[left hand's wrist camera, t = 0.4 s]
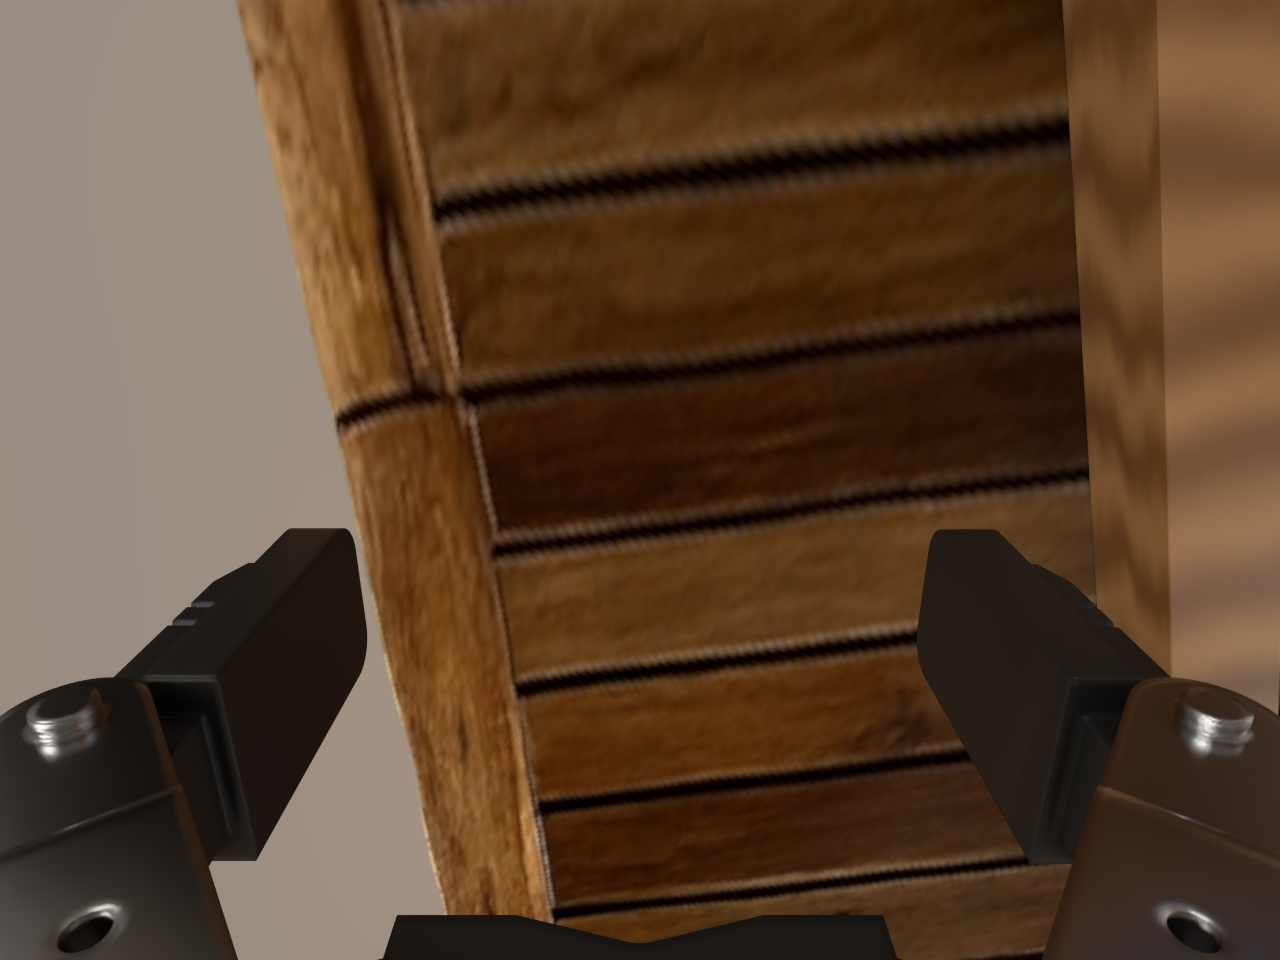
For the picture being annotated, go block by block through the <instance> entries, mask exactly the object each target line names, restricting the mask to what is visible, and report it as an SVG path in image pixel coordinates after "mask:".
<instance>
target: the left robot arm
mask: <svg viewBox="0 0 1280 960" xmlns="http://www.w3.org/2000/svg"><path fill="white" fill-rule="evenodd" d="M1113 624H1114V623H1113V622H1112V621H1111V620H1110V619H1109V618H1108V617H1107V616H1106V615H1105V614H1104V613H1103V612H1102V611H1101V610H1100V609H1095V608H1094V604H1093V603H1092V602H1091V601H1090V600H1089V599H1088V598H1087V597H1086V596H1085V595H1084V594H1083V593H1082V592H1081V591H1080V590H1079V589H1078V588H1077V587H1075V586H1074V585H1073V584H1072V583H1071V582H1069V581H1067V580H1065V579H1063V578H1062V577H1060V576H1058V575H1056V574H1054V573H1052V572H1050V571H1048V570H1046V569H1045V568H1043V567H1041V566H1039V565H1037V564H1030V563H1029V562H1028V561H1027V560H1026V559H1025V558H1024V557H1023V556H1022V555H1021V554H1020V553H1019V552H1018V551H1017V550H1016V549H1015V548H1014V547H1013V546H1012V545H1011V544H1010V543H1009V542H1008V541H1007V540H1006V539H1005V538H1004V537H1003V536H1002V535H1001V534H1000V533H999V532H998V531H996V530H938V531H936V532H935V533H934V535H933V537H932V539H931V543H930V547H929V552H928V559H927V566H926V573H925V580H924V587H923V594H922V601H921V608H920V615H919V622H918V630H917V649H918V657H919V662H920V666H921V669H922V672H923V674H924V676H925V678H926V680H927V682H928V684H929V685H930V687H931V689H932V691H933V692H934V694H935V696H936V698H937V700H938V701H939V703H940V705H941V707H942V708H943V710H944V712H945V714H946V715H947V717H948V719H949V721H950V723H951V724H952V726H953V728H954V730H955V731H956V733H957V735H958V737H959V738H960V740H961V742H962V744H963V746H964V747H965V749H966V751H967V753H968V754H969V756H970V758H971V760H972V761H973V763H974V765H975V767H976V768H977V770H978V772H979V774H980V776H981V777H982V779H983V781H984V783H985V784H986V786H987V788H988V790H989V791H990V793H991V795H992V797H993V799H994V800H995V802H996V804H997V806H998V807H999V809H1000V811H1001V813H1002V814H1003V816H1004V818H1005V820H1006V822H1007V823H1008V825H1009V827H1010V829H1011V830H1012V832H1013V834H1014V836H1015V837H1016V839H1017V841H1018V843H1019V845H1020V846H1021V848H1022V850H1023V852H1024V853H1025V855H1026V857H1027V859H1028V860H1029V862H1030V864H1072V867H1071V870H1070V873H1069V876H1068V879H1067V882H1066V886H1065V889H1064V892H1063V895H1062V898H1061V901H1060V905H1059V908H1058V911H1057V914H1056V917H1055V920H1054V924H1053V927H1052V930H1051V933H1050V936H1049V939H1048V942H1047V946H1046V949H1045V952H1044V955H1043V958H1042V960H1280V716H1279V715H1277V714H1276V713H1274V712H1273V711H1272V710H1270V709H1268V708H1267V707H1265V706H1263V705H1262V704H1260V703H1258V702H1256V701H1254V700H1252V699H1250V698H1248V697H1246V696H1244V695H1241V694H1239V693H1237V692H1234V691H1232V690H1229V689H1226V688H1223V687H1220V686H1217V685H1213V684H1209V683H1206V682H1202V681H1196V680H1191V679H1184V678H1171V677H1170V676H1169V675H1168V674H1167V673H1166V672H1165V671H1164V670H1163V669H1162V668H1161V667H1160V666H1159V665H1158V664H1157V663H1156V662H1155V661H1153V660H1152V659H1151V658H1150V657H1149V656H1148V655H1147V654H1146V653H1145V652H1144V651H1143V650H1142V649H1141V648H1140V647H1139V646H1138V645H1137V644H1136V643H1134V642H1133V641H1132V640H1131V639H1130V638H1129V637H1128V636H1127V635H1126V634H1125V633H1124V632H1123V631H1122V630H1121V629H1120V628H1119V627H1114V625H1113ZM366 650H367V627H366V620H365V612H364V605H363V598H362V591H361V584H360V577H359V570H358V563H357V556H356V549H355V544H354V540H353V537H352V535H351V533H350V532H349V531H348V530H347V529H345V528H291V529H288V530H287V531H286V532H285V533H283V535H282V536H281V537H280V538H279V539H278V540H277V541H276V542H275V543H274V544H273V545H272V546H271V547H270V548H269V549H268V550H267V551H266V552H265V553H264V554H263V555H262V556H261V557H260V558H259V559H258V560H257V561H256V562H255V563H248V564H246V565H244V566H242V567H240V568H238V569H236V570H234V571H232V572H231V573H229V574H227V575H225V576H223V577H221V578H219V579H217V580H216V581H214V582H213V583H212V584H211V585H210V586H208V587H207V588H206V589H205V590H204V591H203V592H202V593H201V594H200V595H199V596H198V597H197V598H196V599H195V600H194V601H193V602H192V603H191V607H187V608H185V609H184V610H183V611H182V612H181V613H180V614H179V615H178V616H177V617H176V618H175V619H174V620H173V623H172V626H167V627H166V628H165V629H164V630H163V631H161V632H160V633H159V634H158V635H157V636H156V637H155V638H154V639H153V640H152V641H151V642H150V643H149V644H148V645H147V646H146V647H145V648H144V649H143V650H142V651H141V652H140V653H138V654H137V655H136V656H135V657H134V658H133V659H132V660H131V661H130V662H129V663H128V664H127V665H126V666H125V667H124V668H123V669H122V670H121V671H120V672H119V673H118V674H117V675H116V676H114V677H110V678H96V679H89V680H84V681H78V682H74V683H71V684H67V685H63V686H60V687H57V688H54V689H51V690H48V691H46V692H43V693H41V694H39V695H36V696H34V697H32V698H30V699H28V700H26V701H24V702H22V703H20V704H18V705H17V706H15V707H13V708H12V709H10V710H8V711H7V712H6V713H4V714H3V715H1V716H0V960H238V958H237V955H236V952H235V949H234V946H233V942H232V939H231V936H230V933H229V930H228V927H227V924H226V920H225V917H224V914H223V911H222V908H221V905H220V902H219V898H218V895H217V892H216V889H215V886H214V882H213V879H212V876H211V873H210V870H209V867H208V866H209V865H210V863H211V862H212V861H256V860H257V858H258V856H259V855H260V853H261V851H262V849H263V847H264V846H265V844H266V842H267V840H268V838H269V837H270V835H271V833H272V831H273V829H274V828H275V826H276V824H277V822H278V821H279V819H280V817H281V815H282V813H283V812H284V810H285V808H286V806H287V804H288V803H289V801H290V799H291V797H292V795H293V794H294V792H295V790H296V788H297V787H298V785H299V783H300V781H301V779H302V778H303V776H304V774H305V772H306V770H307V769H308V767H309V765H310V763H311V761H312V760H313V758H314V756H315V754H316V753H317V751H318V749H319V747H320V745H321V744H322V742H323V740H324V738H325V736H326V735H327V733H328V731H329V729H330V727H331V726H332V724H333V722H334V720H335V719H336V717H337V715H338V713H339V711H340V709H341V708H342V706H343V704H344V702H345V701H346V699H347V697H348V695H349V693H350V692H351V690H352V688H353V686H354V684H355V683H356V681H357V679H358V677H359V675H360V673H361V671H362V668H363V665H364V661H365V656H366ZM379 960H902V959H898V958H897V957H896V954H895V951H894V948H893V945H892V941H891V938H890V935H889V932H888V929H887V926H886V923H885V920H884V917H883V915H762V916H758V917H754V918H750V919H746V920H741V921H737V922H733V923H729V924H725V925H721V926H717V927H712V928H708V929H704V930H700V931H696V932H692V933H688V934H683V935H679V936H675V937H671V938H667V939H663V940H659V941H654V942H649V943H631V942H626V941H621V940H617V939H613V938H609V937H605V936H601V935H597V934H592V933H588V932H584V931H580V930H576V929H572V928H568V927H563V926H559V925H555V924H551V923H547V922H543V921H539V920H534V919H530V918H526V917H522V916H518V915H397V917H396V920H395V923H394V926H393V929H392V932H391V935H390V938H389V941H388V945H387V948H386V951H385V954H384V957H383V959H379Z"/></svg>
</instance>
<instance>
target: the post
mask: <svg viewBox="0 0 1280 960" xmlns="http://www.w3.org/2000/svg"><path fill="white" fill-rule="evenodd" d="M1062 4H1063V22H1064V39H1065V57H1066V74H1067V91H1068V109H1069V126H1070V144H1071V161H1072V178H1073V196H1074V213H1075V231H1076V248H1077V266H1078V283H1079V300H1080V318H1081V335H1082V353H1083V370H1084V388H1085V405H1086V422H1087V440H1088V457H1089V475H1090V492H1091V510H1092V527H1093V544H1094V562H1095V579H1096V597H1097V609H1100V610H1101V611H1102V612H1103V613H1104V614H1105V615H1106V616H1107V617H1108V618H1109V619H1110V620H1111V621H1112V622H1113V623H1114V624H1113V625H1114V627H1119V628H1120V629H1121V630H1122V631H1123V632H1124V633H1125V634H1126V635H1127V636H1128V637H1129V638H1130V639H1131V640H1132V641H1133V642H1134V643H1136V644H1137V645H1138V646H1139V647H1140V648H1141V649H1142V650H1143V651H1144V652H1145V653H1146V654H1147V655H1148V656H1149V657H1150V658H1151V659H1152V660H1153V661H1155V662H1156V663H1157V664H1158V665H1159V666H1160V667H1161V668H1162V669H1163V670H1164V671H1165V672H1166V673H1167V674H1168V675H1169V676H1170V677H1171V678H1184V679H1191V680H1196V681H1202V682H1206V683H1209V684H1213V685H1217V686H1220V687H1223V688H1226V689H1229V690H1232V691H1234V692H1237V693H1239V694H1241V695H1244V696H1246V697H1248V698H1250V699H1252V700H1254V701H1256V702H1258V703H1260V704H1262V705H1263V706H1265V707H1267V708H1268V709H1270V710H1272V711H1273V712H1274V713H1276V714H1277V715H1278V704H1279V676H1280V0H1062Z"/></svg>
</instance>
